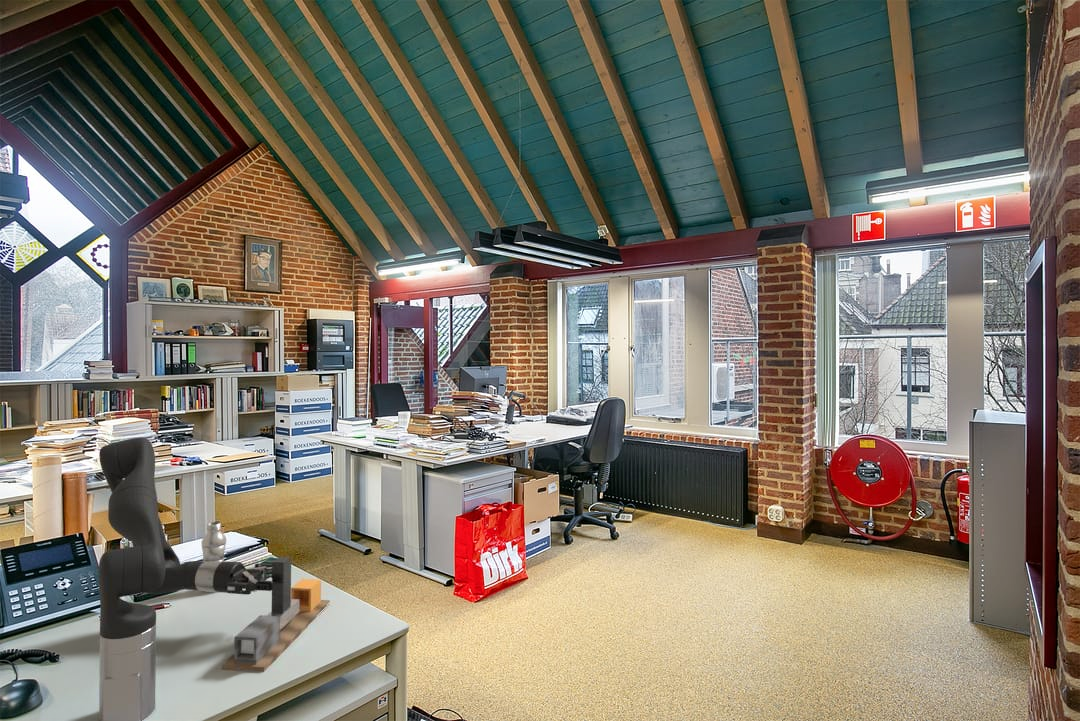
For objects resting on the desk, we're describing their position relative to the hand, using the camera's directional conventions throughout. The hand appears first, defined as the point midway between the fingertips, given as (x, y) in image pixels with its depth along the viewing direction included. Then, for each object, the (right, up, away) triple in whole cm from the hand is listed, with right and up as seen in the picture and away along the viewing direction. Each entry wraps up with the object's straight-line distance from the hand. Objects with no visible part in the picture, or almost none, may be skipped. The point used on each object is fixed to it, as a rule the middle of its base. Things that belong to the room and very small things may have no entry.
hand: (281, 579), depth 152 cm
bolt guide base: (0, -14, +1) cm, 14 cm away
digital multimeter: (-23, -13, +41) cm, 49 cm away
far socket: (+1, -13, +14) cm, 19 cm away
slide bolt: (0, -11, -4) cm, 12 cm away
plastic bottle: (-32, -13, +26) cm, 43 cm away
